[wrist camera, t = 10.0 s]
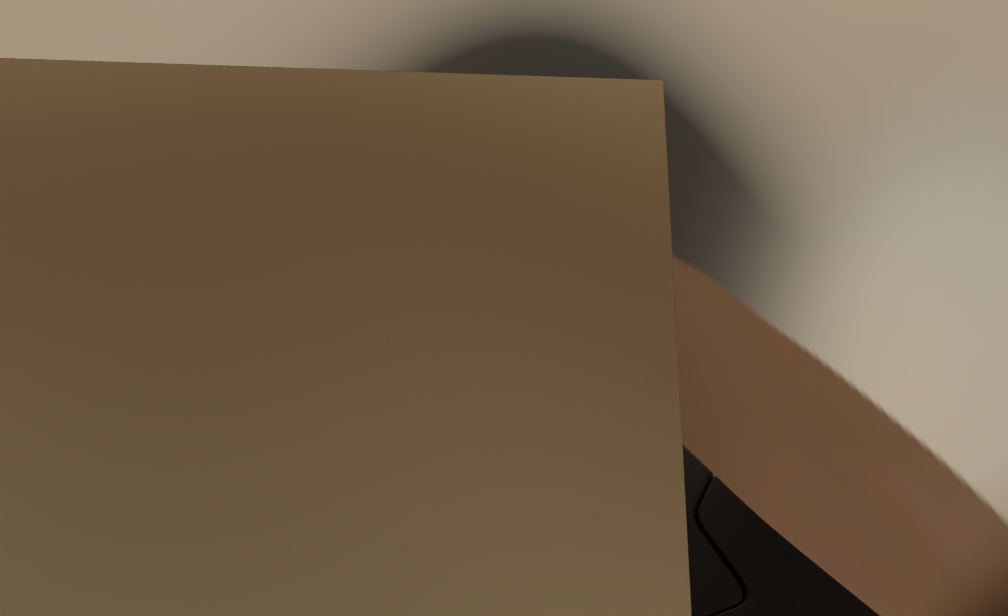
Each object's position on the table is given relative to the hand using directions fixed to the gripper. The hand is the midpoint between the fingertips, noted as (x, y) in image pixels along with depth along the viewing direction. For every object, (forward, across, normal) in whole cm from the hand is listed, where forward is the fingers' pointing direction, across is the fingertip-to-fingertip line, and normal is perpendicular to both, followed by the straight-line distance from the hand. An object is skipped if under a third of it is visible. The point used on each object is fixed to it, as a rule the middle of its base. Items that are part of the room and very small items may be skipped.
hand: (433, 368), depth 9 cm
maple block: (+3, 0, +5) cm, 6 cm away
